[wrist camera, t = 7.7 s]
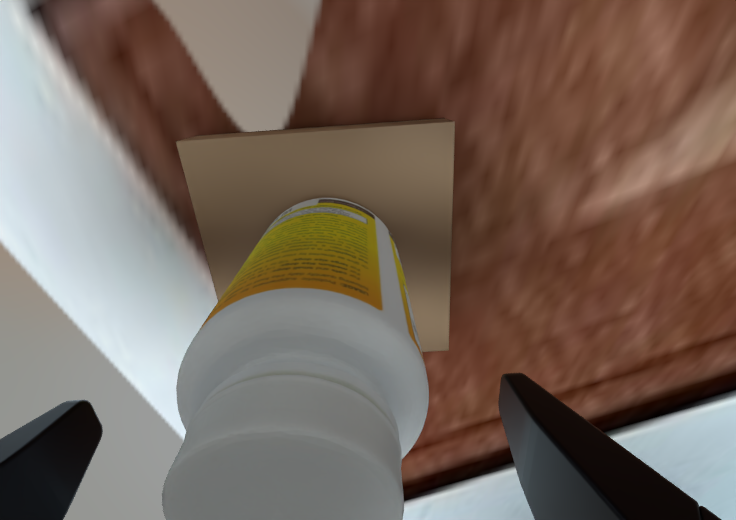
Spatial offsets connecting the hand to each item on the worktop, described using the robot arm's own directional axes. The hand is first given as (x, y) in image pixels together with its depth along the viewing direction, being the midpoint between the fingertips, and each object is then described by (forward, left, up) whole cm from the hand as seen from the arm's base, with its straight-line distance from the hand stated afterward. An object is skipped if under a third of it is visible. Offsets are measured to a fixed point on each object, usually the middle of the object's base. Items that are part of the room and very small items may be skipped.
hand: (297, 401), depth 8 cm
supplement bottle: (0, 0, -8) cm, 8 cm away
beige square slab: (0, 0, -10) cm, 10 cm away
